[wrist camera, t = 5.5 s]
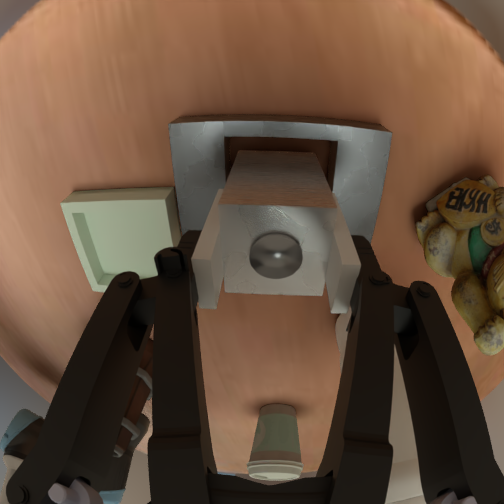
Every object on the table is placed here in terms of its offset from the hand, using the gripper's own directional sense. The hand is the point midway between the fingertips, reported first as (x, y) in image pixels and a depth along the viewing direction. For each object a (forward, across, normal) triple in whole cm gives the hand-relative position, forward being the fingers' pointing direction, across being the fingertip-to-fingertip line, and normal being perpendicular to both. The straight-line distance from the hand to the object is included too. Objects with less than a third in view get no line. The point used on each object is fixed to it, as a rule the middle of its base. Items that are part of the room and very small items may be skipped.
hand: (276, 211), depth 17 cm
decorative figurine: (+5, +16, -2) cm, 17 cm away
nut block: (+4, 0, 0) cm, 4 cm away
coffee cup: (+6, +2, -39) cm, 39 cm away
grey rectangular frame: (+5, 0, 0) cm, 5 cm away
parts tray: (+5, -13, -6) cm, 15 cm away
